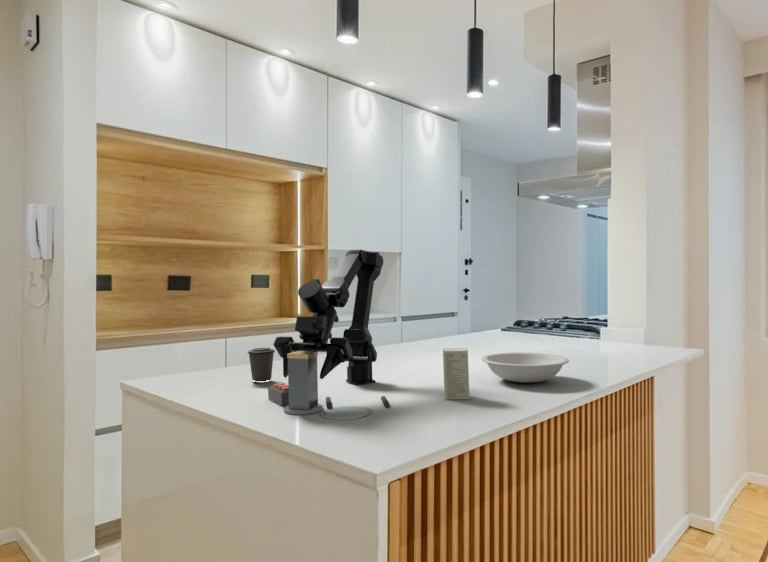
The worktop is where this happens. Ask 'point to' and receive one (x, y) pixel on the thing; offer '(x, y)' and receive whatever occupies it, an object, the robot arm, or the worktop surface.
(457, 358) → the skincare box
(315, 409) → the gray disc
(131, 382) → the worktop surface
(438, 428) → the worktop surface
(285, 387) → the gray power strip
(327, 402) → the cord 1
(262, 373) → the coffee cup
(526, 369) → the soup bowl
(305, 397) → the charcoal tea tin
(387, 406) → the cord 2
